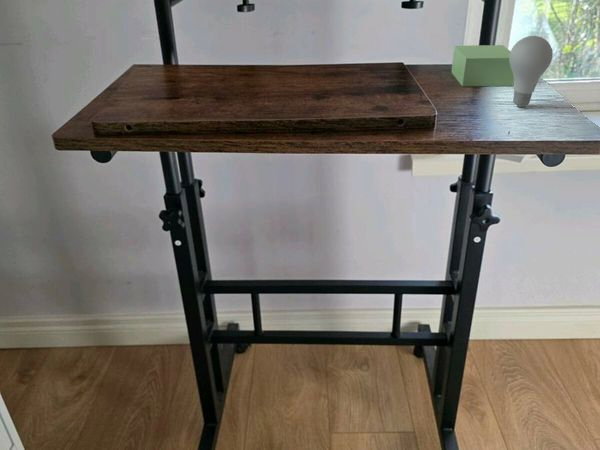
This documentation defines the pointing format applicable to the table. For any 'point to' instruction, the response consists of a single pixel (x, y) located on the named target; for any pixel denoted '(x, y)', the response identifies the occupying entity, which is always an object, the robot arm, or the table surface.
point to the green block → (482, 65)
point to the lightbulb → (528, 66)
